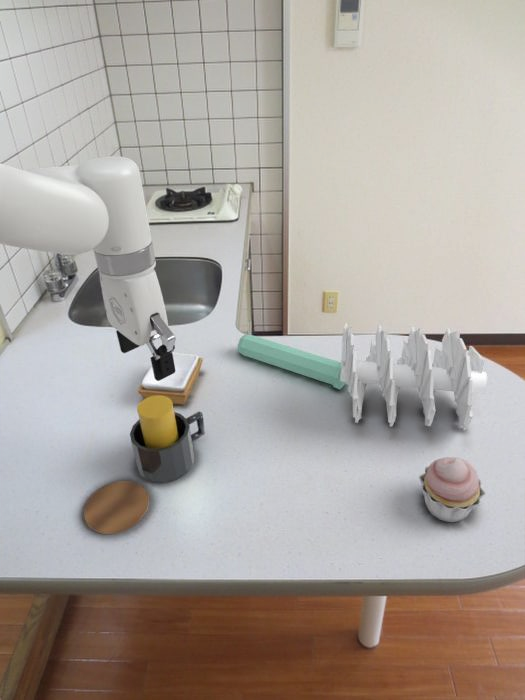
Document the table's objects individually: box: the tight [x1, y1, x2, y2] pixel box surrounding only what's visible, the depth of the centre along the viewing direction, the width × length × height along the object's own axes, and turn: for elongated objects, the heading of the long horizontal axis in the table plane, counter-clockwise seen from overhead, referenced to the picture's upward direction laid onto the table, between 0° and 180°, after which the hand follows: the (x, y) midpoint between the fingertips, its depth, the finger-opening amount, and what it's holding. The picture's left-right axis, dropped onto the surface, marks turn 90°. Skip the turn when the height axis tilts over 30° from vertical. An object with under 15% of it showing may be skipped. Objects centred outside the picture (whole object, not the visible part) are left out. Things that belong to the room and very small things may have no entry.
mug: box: [129, 411, 206, 484], centre depth 89 cm, size 13×10×8 cm
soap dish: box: [137, 352, 204, 406], centre depth 106 cm, size 12×10×5 cm
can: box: [136, 395, 179, 449], centre depth 87 cm, size 6×6×12 cm
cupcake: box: [418, 456, 486, 523], centre depth 78 cm, size 9×9×10 cm
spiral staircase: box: [340, 322, 488, 431], centre depth 93 cm, size 18×18×25 cm
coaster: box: [83, 480, 150, 535], centre depth 83 cm, size 10×10×1 cm
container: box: [237, 333, 346, 391], centre depth 110 cm, size 6×6×25 cm
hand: (147, 362), depth 79 cm, fingers open, 9 cm apart
